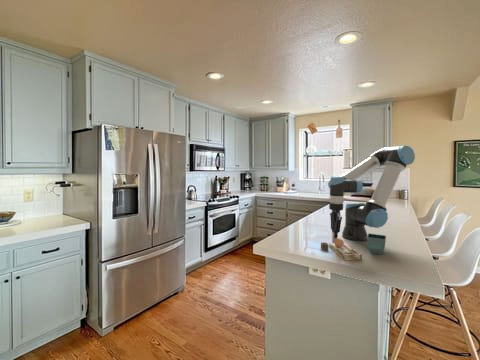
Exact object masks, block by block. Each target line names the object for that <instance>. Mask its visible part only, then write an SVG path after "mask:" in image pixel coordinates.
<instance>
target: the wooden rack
mask: <svg viewBox="0 0 480 360" xmlns="http://www.w3.org/2000/svg"><path fill="white" fill-rule="evenodd" d="M351 249H352V254H344V253H343V252H342V251H341V250H339V249H336V252H335V253H336V255H337V256H338V257H339V258H341V259H342V261H363V254H362V253H360V251H358V250H356V249H354V248H351Z"/></svg>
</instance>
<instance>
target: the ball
mask: <svg viewBox="0 0 480 360" xmlns="http://www.w3.org/2000/svg"><path fill="white" fill-rule="evenodd" d="M333 244H334V245H336V246H337V247H342V246H343V245H344V244H345V242H344V240H343V239H342V238H339V237H338V239H336V240H335V242H334V243H333Z"/></svg>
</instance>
